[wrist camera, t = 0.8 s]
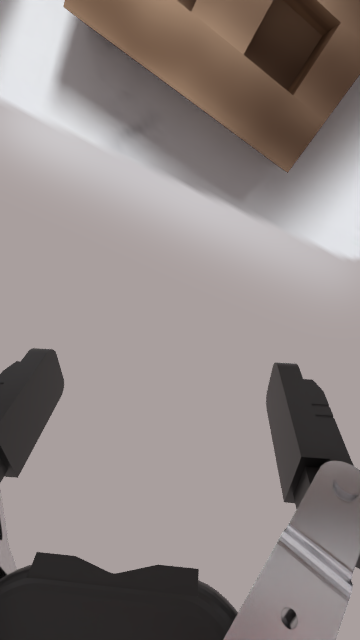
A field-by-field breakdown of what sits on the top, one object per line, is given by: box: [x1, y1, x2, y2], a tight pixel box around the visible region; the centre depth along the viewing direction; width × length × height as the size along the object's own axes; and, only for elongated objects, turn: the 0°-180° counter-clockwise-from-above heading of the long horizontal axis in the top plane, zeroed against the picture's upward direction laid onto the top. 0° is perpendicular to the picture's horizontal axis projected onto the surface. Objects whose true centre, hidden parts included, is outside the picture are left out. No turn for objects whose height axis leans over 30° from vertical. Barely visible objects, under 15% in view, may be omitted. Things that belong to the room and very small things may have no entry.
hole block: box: [63, 0, 360, 173], centre depth 22 cm, size 13×20×5 cm, turn 59°
